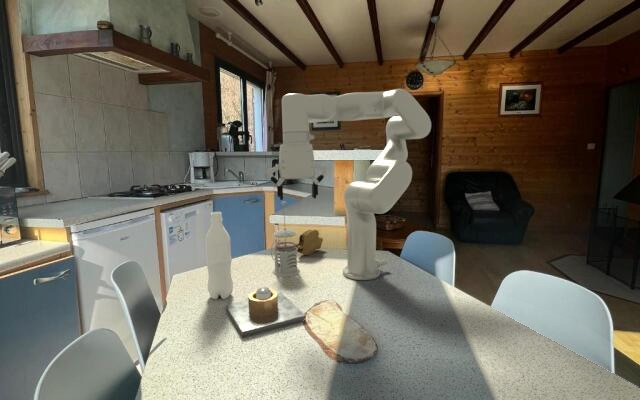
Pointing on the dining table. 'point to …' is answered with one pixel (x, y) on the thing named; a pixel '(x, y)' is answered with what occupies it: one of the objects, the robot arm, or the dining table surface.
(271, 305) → the copper ring
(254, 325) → the block
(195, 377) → the dining table surface
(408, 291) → the dining table surface
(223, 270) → the water bottle
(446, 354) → the dining table surface
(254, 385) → the dining table surface
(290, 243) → the french press
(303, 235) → the wooden carving
